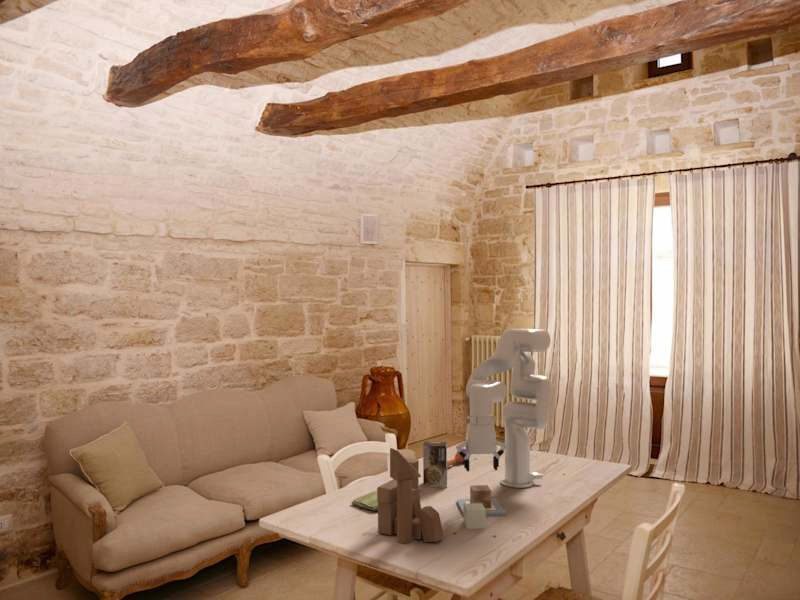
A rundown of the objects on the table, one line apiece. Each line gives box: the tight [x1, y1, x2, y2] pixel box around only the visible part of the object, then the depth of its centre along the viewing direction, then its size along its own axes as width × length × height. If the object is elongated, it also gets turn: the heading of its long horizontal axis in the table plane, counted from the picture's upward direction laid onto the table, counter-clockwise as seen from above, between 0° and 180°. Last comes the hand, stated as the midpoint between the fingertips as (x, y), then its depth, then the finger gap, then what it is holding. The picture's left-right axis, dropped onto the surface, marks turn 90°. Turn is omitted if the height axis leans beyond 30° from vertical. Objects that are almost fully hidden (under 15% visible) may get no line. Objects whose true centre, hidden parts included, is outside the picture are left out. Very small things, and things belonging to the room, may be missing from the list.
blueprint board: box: [456, 497, 506, 517], centre depth 218 cm, size 14×14×1 cm
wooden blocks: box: [376, 447, 445, 544], centre depth 196 cm, size 24×20×28 cm
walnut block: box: [469, 484, 492, 508], centre depth 218 cm, size 6×6×6 cm
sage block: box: [463, 503, 487, 530], centre depth 203 cm, size 6×6×6 cm
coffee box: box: [422, 441, 448, 489], centre depth 244 cm, size 9×6×16 cm
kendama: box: [447, 447, 471, 469], centre depth 272 cm, size 6×6×20 cm
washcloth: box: [351, 490, 378, 513], centre depth 224 cm, size 13×18×3 cm
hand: (481, 469), depth 219 cm, fingers open, 9 cm apart
